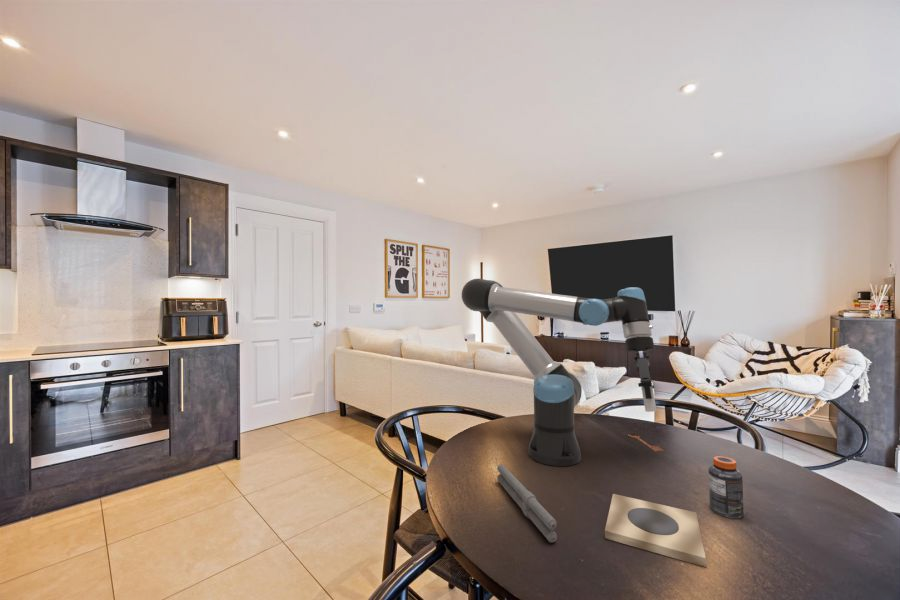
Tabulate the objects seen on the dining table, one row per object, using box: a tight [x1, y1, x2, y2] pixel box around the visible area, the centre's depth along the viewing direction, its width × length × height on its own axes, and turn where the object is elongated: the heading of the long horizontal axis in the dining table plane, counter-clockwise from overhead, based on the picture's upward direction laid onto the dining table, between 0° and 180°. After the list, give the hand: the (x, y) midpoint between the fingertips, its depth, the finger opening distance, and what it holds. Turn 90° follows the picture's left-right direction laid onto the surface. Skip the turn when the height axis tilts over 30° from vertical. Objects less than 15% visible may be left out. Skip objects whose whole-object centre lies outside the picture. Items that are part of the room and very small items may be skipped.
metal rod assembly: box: [496, 463, 558, 543], centre depth 80 cm, size 26×3×5 cm, turn 15°
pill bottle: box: [708, 455, 745, 519], centre depth 79 cm, size 6×6×11 cm
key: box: [627, 433, 664, 452], centre depth 120 cm, size 6×1×15 cm
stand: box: [604, 493, 707, 568], centre depth 73 cm, size 16×16×2 cm
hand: (651, 411), depth 103 cm, fingers open, 13 cm apart
